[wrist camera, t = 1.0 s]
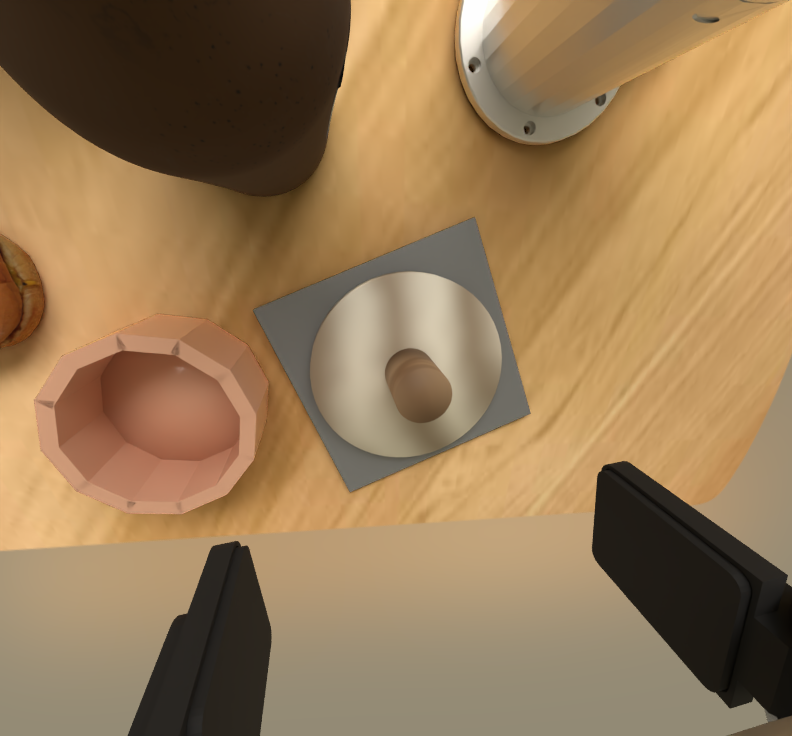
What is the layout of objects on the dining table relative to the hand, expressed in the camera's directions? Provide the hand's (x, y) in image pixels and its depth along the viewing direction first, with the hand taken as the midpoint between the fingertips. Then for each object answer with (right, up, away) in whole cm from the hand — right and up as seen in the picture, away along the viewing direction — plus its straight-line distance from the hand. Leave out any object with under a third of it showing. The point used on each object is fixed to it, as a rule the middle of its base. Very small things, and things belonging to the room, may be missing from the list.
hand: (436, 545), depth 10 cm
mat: (0, +5, +23) cm, 23 cm away
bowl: (-18, +2, +20) cm, 27 cm away
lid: (0, +5, +22) cm, 23 cm away
